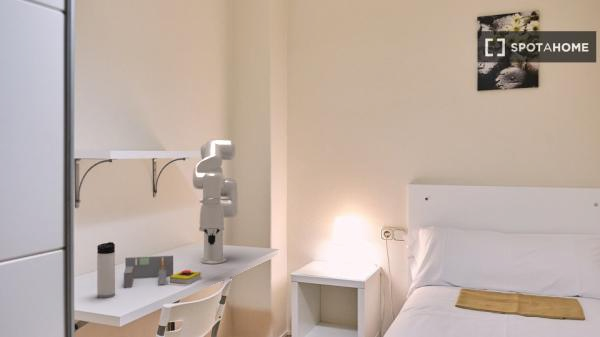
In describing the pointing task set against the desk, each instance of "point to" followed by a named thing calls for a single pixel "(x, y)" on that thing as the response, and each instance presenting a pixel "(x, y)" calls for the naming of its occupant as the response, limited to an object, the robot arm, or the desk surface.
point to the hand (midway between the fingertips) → (211, 244)
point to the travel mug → (106, 270)
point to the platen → (162, 274)
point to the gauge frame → (145, 268)
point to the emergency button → (184, 278)
